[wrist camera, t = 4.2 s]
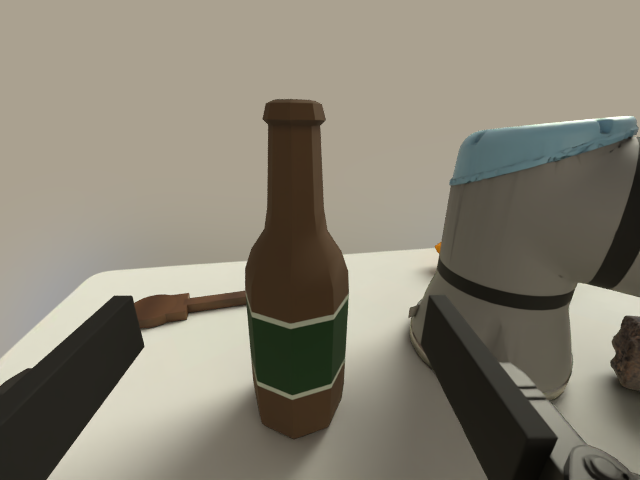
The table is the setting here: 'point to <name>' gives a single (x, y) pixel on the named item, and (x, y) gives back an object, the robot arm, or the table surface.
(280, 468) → the table surface
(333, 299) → the beer bottle
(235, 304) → the wooden spoon
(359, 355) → the table surface
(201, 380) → the table surface
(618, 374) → the perforated stone tool
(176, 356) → the table surface
